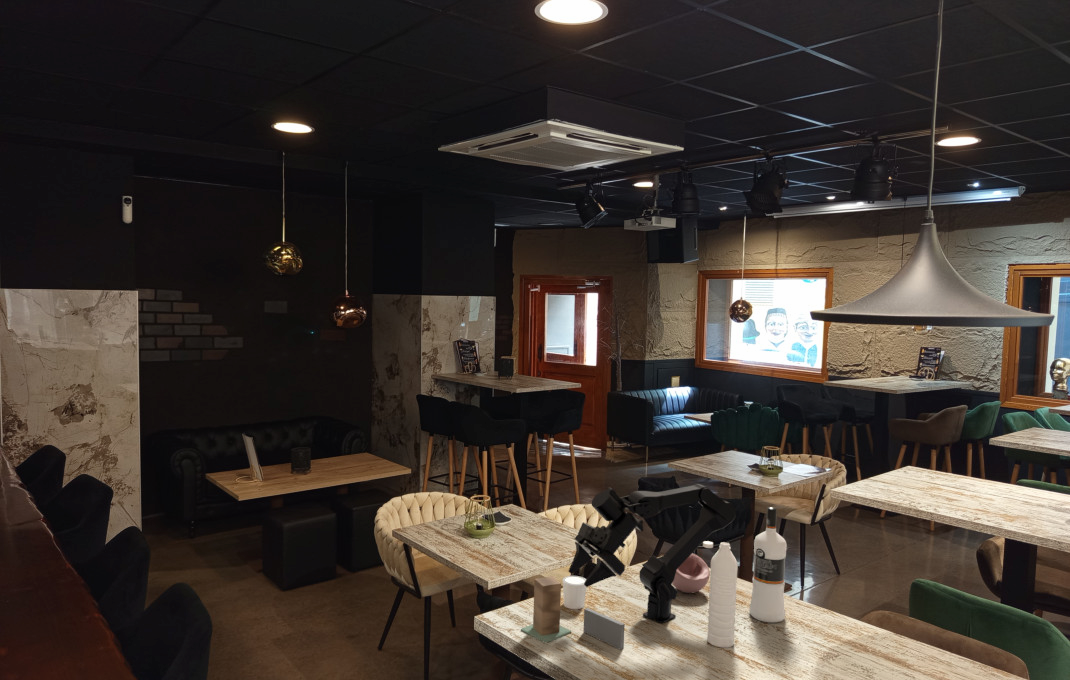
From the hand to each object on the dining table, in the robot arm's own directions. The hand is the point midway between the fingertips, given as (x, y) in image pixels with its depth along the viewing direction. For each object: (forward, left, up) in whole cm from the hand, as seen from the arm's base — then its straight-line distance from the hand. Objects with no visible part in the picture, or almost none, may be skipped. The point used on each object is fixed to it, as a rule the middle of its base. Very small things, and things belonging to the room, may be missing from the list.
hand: (577, 578), depth 181 cm
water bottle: (-22, +28, -13) cm, 38 cm away
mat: (+7, -4, -13) cm, 15 cm away
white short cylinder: (-11, -10, -13) cm, 20 cm away
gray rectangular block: (-1, +9, -13) cm, 16 cm away
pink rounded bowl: (-44, +5, -13) cm, 46 cm away
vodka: (-46, +29, -13) cm, 56 cm away
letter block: (+7, -4, -13) cm, 15 cm away
